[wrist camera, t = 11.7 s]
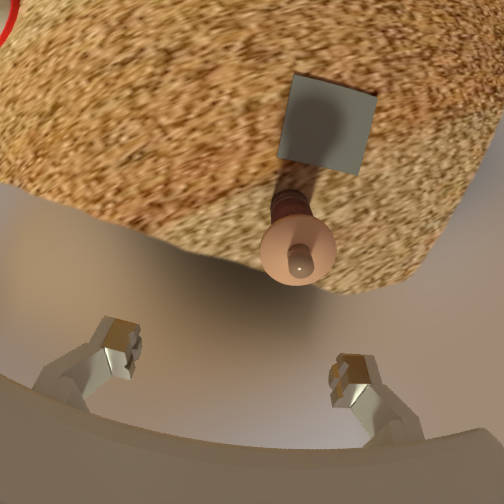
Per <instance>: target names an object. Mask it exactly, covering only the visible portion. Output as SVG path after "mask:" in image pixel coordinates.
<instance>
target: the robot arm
mask: <svg viewBox="0 0 504 504" xmlns="http://www.w3.org/2000/svg"><path fill="white" fill-rule="evenodd" d="M140 331H141V330H140V325H139V324H136V323H132V322H128V321H124V320H120V319H117V318H112V317H108V316H104V317H103V318H102V320H101V322H100V324H99V325H98V327H97V329H96V331H95V333H94V335H93V336H92V338H91V340H90V342H89V343H84V344H82V345H81V346H79V347H77V348H76V349H74V350H72V351H70V352H69V353H67V354H65V355H64V356H62V357H60V358H58V359H57V360H55V361H53V362H51V363H50V364H48V365H46V366H44V367H43V369H42V371H41V373H40V375H39V377H38V378H37V380H36V382H35V384H34V386H33V388H32V389H30V388H28V387H26V386H23V385H21V384H19V383H17V382H15V381H13V380H11V379H9V378H7V377H6V376H3V375H2V374H0V504H504V448H503V446H502V444H501V442H500V441H499V440H498V439H497V438H495V437H494V436H493V435H492V434H491V433H490V432H489V431H488V430H486V429H485V428H476V429H472V430H468V431H464V432H460V433H456V434H452V435H447V436H442V437H438V438H432V439H427V440H425V438H424V435H423V431H422V428H421V424H420V421H419V417H418V416H417V415H416V414H415V413H414V412H413V411H412V410H411V409H410V408H409V407H408V406H407V405H406V404H405V403H404V402H403V401H402V400H401V399H400V398H399V397H397V395H395V394H394V393H393V392H392V391H391V390H390V389H389V388H388V387H387V386H386V385H383V384H382V380H381V377H380V374H379V371H378V367H377V364H376V361H375V357H374V356H373V355H361V354H344V353H340V354H339V355H338V356H337V358H336V361H337V363H336V364H334V365H332V367H331V369H330V372H329V379H328V381H329V386H330V388H331V389H332V390H333V391H332V393H331V402H332V407H333V408H334V407H335V408H350V409H351V411H352V412H353V414H354V415H355V416H356V418H357V419H358V420H359V421H360V423H361V424H362V426H363V427H364V428H365V430H366V431H367V432H368V434H369V435H370V436H371V438H372V439H371V440H370V441H368V442H367V443H366V444H365V445H364V446H363V448H348V449H316V450H315V449H314V450H313V449H312V450H311V449H277V448H262V447H250V446H239V445H231V444H222V443H215V442H208V441H202V440H196V439H190V438H185V437H179V436H175V435H170V434H165V433H160V432H156V431H152V430H148V429H144V428H139V427H135V426H132V425H128V424H125V423H121V422H118V421H114V420H111V419H108V418H104V417H101V416H99V415H95V414H92V413H90V411H89V409H88V407H87V405H86V403H85V401H84V399H85V398H86V397H87V396H89V395H90V394H91V393H92V392H94V391H95V390H96V389H97V388H99V387H100V386H101V385H102V384H103V383H105V382H106V381H107V380H108V379H110V378H111V377H112V376H116V377H120V378H124V379H128V380H131V378H132V376H133V373H134V370H135V363H134V362H135V361H136V360H138V359H139V356H140V353H141V348H142V339H141V337H140V336H139V333H140Z"/></svg>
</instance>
